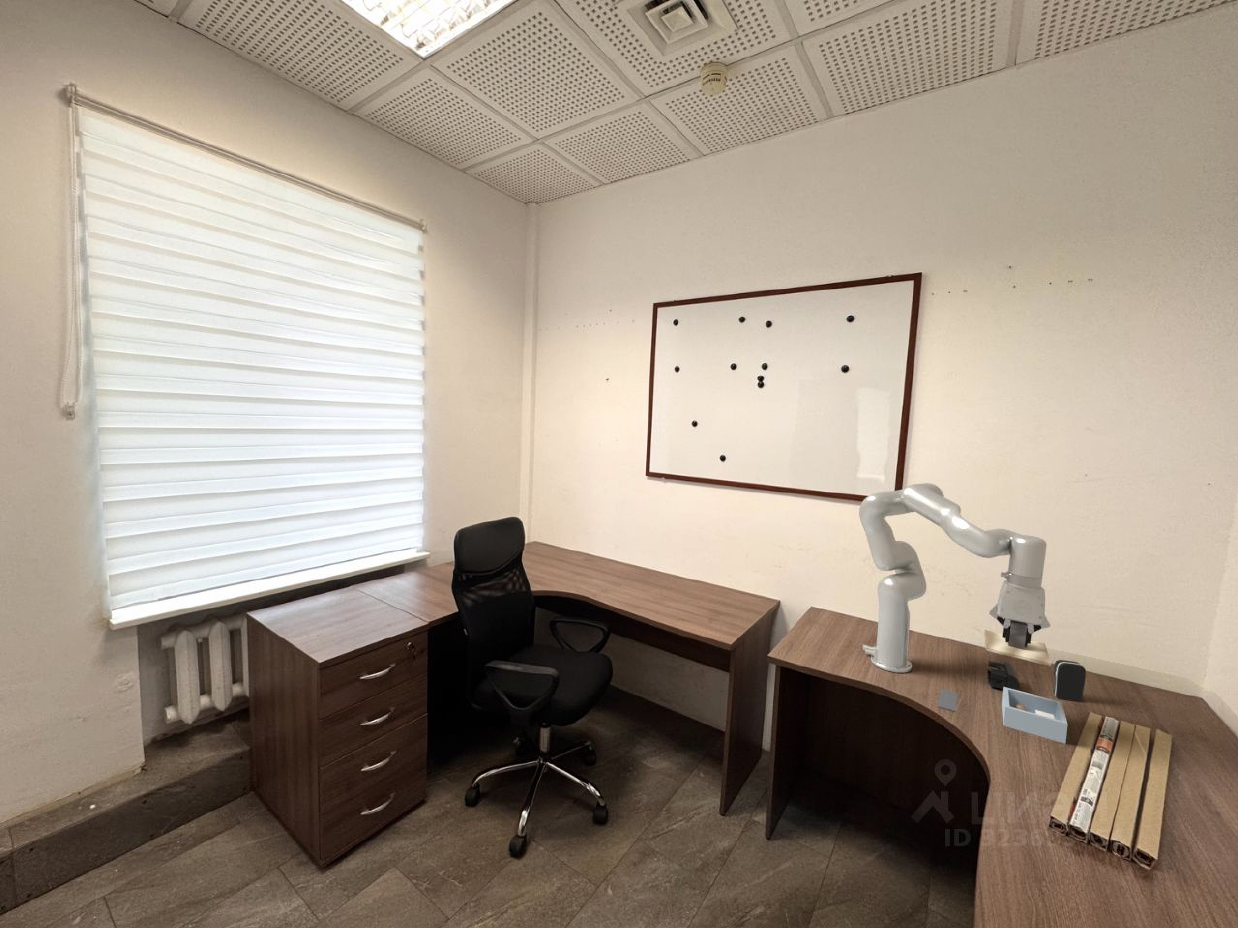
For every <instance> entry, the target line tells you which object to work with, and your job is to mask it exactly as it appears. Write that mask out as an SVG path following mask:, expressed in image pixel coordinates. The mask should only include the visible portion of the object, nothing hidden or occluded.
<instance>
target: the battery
mask: <svg viewBox="0 0 1238 928" xmlns="http://www.w3.org/2000/svg"><path fill="white" fill-rule="evenodd" d="M1086 670H1087V669H1086V668H1085V666H1084V665H1082V664H1081V663H1079V662H1076V661H1073V660H1072V661H1070V660H1064V659H1058V660H1057V661H1055V663H1054V668H1053V675H1054V677H1055V679H1054V681H1055V682H1054V684H1055V685H1054V688H1053V695H1054V696H1055V698H1057V699H1062V700H1063V699H1064V700H1067V701H1068V700H1070V701H1074V702H1075V701H1076V702H1083V698H1084V690H1085V685H1086V684H1085V683H1086V677H1087V671H1086Z"/></svg>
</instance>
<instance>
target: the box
mask: <svg viewBox="0 0 1238 928" xmlns="http://www.w3.org/2000/svg"><path fill="white" fill-rule="evenodd" d="M1001 697H1002V698H1001V714H1002V723H1003V727H1007V728H1011V729H1014V730H1016V731H1017V730H1018V731H1021V732H1024V733H1027V734H1030V735H1034V736H1037V737H1040V738H1044V739H1047V740H1051V741H1054V742H1058V743H1060V744H1061V743H1062V744H1064V745H1066V740H1067V731H1068V722H1067V718H1066V714H1065V711H1064V708H1063V704H1062V701H1061V700H1055V699H1052V698H1048V697H1044V696H1040V695H1036V694H1032V693H1028V692H1024V691H1021V690H1014V689H1010V688H1006V687H1003V689H1002V696H1001ZM1015 705H1022V706H1024V707H1025V708H1026V709H1027V711H1024V710H1020V709H1017V708H1014V706H1015ZM1035 710H1038V711H1042V712H1045V713H1049V714H1053V715H1054V717H1055V719H1053V718H1049V717H1045V716H1042V715H1038V714H1035Z"/></svg>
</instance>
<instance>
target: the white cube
mask: <svg viewBox="0 0 1238 928" xmlns="http://www.w3.org/2000/svg"><path fill="white" fill-rule="evenodd" d="M1035 714H1038V715H1042V716H1045V717H1049V718H1053V719H1055V717H1054V715H1053V714H1049V713H1045V712H1042V711H1038V710H1035Z"/></svg>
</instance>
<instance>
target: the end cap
mask: <svg viewBox="0 0 1238 928" xmlns="http://www.w3.org/2000/svg"><path fill="white" fill-rule="evenodd" d="M987 666H988V667H990V669H987V671H986V672H987V673H986V674H987V677H986V679H987V680H986V681H987V684H988V685H989V686H990V687H992V688H997V689H1002V690H1003V687H1006V688H1010V689H1014V690H1018V691H1020V690H1019V689H1020V687H1021V686H1020V685H1021V684H1020V681H1019V678H1018V676H1017V673H1016V670H1015V668H1014V667H1013V666H1012V665H1011V663H1008V662H1006V661H1003V663H999V662H996V661H995V662H994V661H988V663H987Z"/></svg>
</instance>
